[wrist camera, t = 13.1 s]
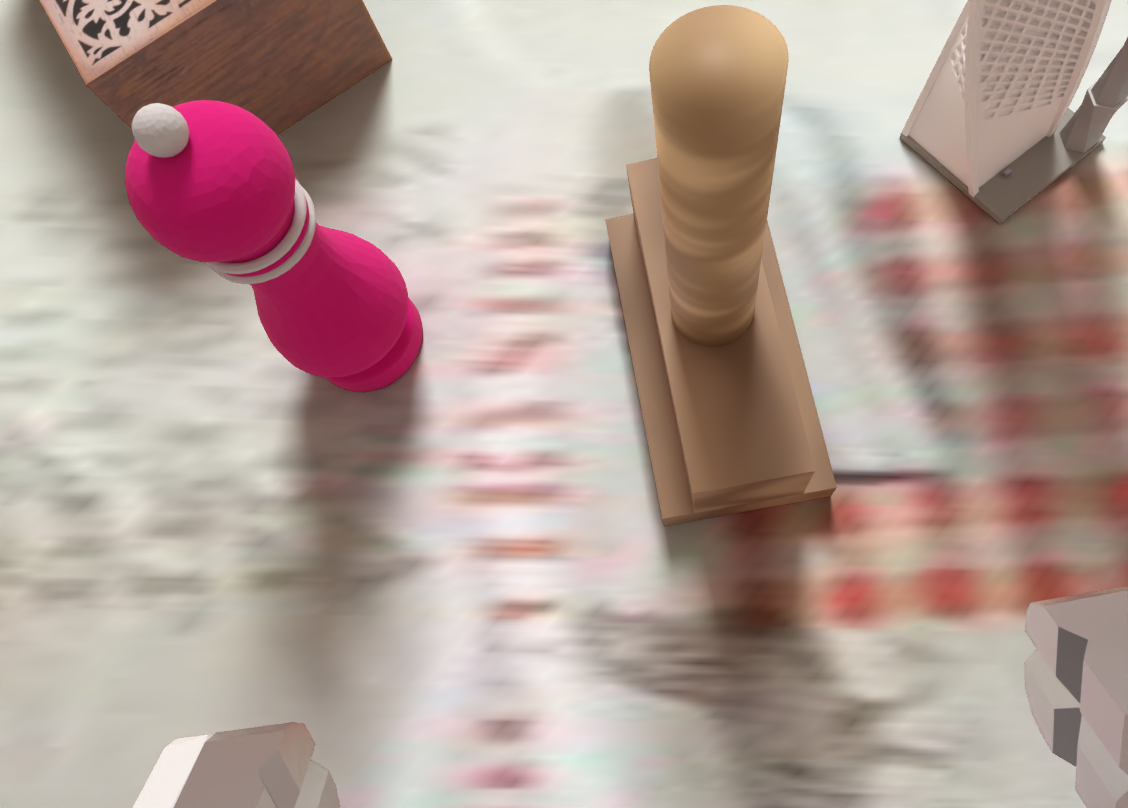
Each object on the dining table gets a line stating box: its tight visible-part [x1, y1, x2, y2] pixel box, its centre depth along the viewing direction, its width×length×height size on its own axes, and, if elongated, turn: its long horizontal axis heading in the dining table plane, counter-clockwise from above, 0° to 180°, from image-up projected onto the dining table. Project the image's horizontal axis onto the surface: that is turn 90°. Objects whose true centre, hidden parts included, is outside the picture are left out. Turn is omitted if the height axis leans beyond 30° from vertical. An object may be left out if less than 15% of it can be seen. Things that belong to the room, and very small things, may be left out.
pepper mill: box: [125, 100, 423, 392], centre depth 38 cm, size 7×7×20 cm
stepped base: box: [606, 158, 837, 526], centre depth 41 cm, size 8×16×6 cm, turn 9°
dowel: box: [649, 5, 788, 347], centre depth 30 cm, size 4×4×16 cm
